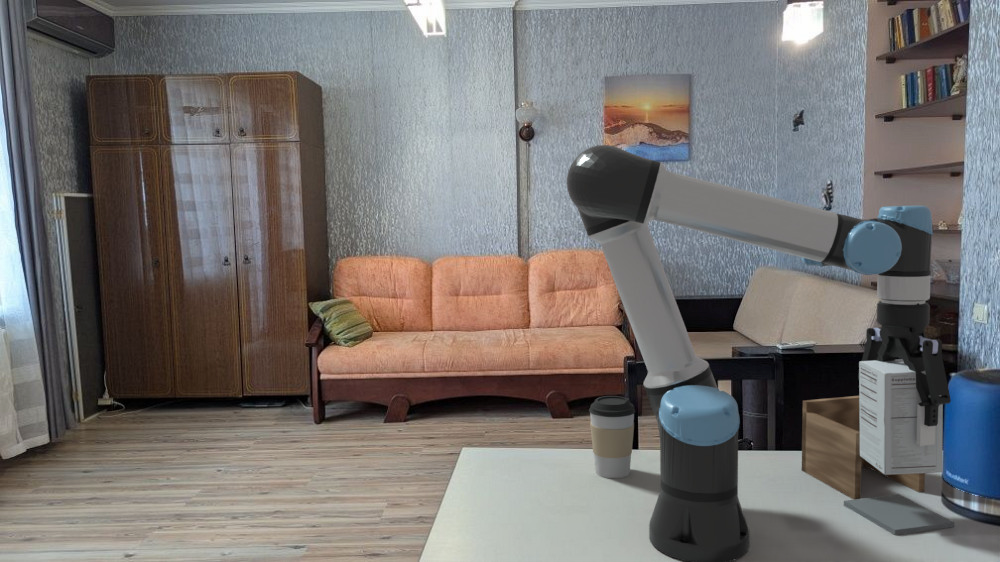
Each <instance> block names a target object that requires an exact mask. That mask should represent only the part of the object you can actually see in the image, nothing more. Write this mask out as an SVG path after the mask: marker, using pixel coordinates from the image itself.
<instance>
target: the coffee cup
mask: <svg viewBox="0 0 1000 562" xmlns="http://www.w3.org/2000/svg"><path fill="white" fill-rule="evenodd" d="M588 412H589V414H590V423H589V425H590V434H591V443H592V452H593V458H594V466H595V467H594V469H595V470H594V471H595V474H596V475H598V476H599V477H602V478H606V479H623V478H626V477H628V476H629V475H630V473H631V458H632V452H633V444H634V443H633V442H634V433H635V432H634V430H635V422H634V420H635V414H636V409H635V406H634V404H633V403H631V400H630V398H626V397H623V396H618V395H606V396H605V395H603V396H599V397H597V398H595V399H594V402H592V403H591V404H590V408H589V409H588Z"/></svg>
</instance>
